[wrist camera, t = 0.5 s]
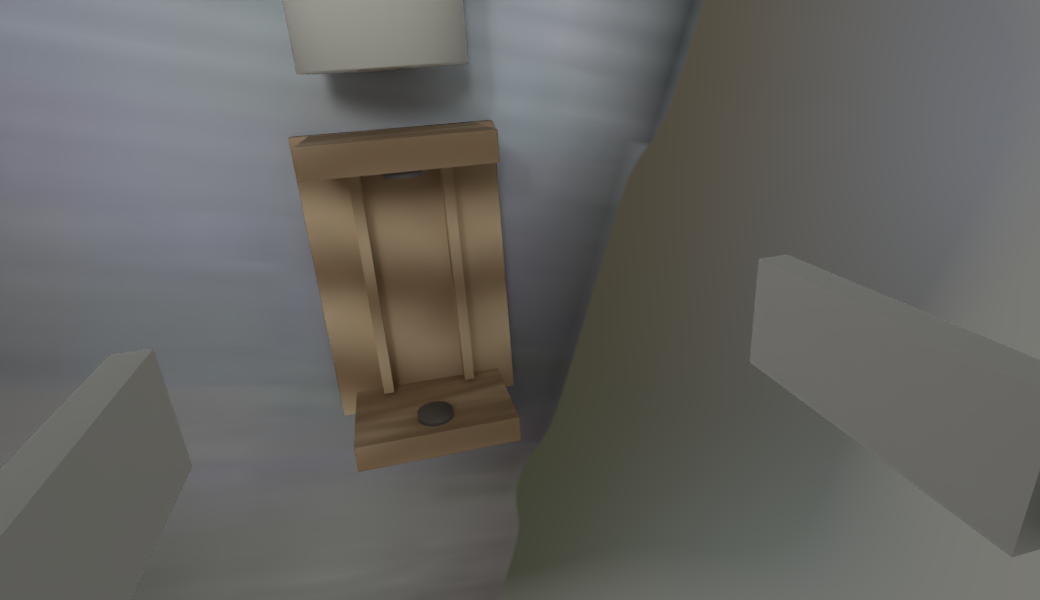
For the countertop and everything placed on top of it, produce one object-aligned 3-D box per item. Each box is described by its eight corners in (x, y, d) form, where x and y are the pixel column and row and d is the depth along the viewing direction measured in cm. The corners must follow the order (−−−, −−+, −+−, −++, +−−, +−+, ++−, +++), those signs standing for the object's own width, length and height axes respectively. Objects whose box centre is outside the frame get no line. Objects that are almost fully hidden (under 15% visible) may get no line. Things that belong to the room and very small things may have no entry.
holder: (290, 137, 31) (269, 149, 25) (490, 120, 33) (518, 127, 27) (345, 409, 37) (339, 475, 31) (511, 380, 39) (538, 436, 33)
